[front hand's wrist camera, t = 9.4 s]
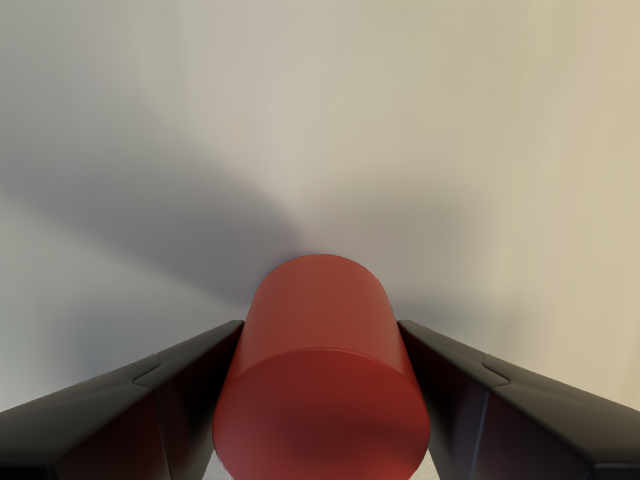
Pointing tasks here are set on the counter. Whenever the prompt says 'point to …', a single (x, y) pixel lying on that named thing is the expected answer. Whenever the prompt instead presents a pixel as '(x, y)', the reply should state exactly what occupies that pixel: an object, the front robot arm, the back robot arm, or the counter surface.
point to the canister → (320, 381)
